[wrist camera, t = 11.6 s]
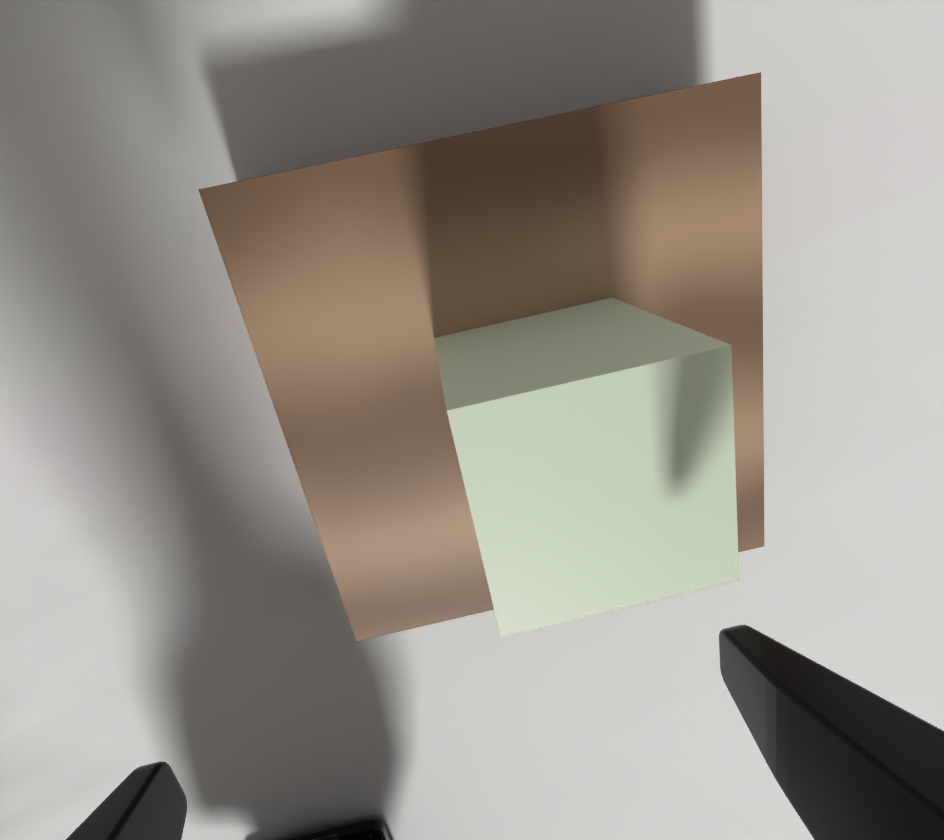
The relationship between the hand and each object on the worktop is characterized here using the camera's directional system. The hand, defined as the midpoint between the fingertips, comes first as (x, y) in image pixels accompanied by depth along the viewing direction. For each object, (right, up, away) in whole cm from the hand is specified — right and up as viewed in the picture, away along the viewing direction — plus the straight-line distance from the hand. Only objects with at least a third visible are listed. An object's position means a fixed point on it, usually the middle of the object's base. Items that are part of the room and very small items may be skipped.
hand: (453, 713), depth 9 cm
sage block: (+2, +5, +7) cm, 9 cm away
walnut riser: (+2, +7, +11) cm, 13 cm away
